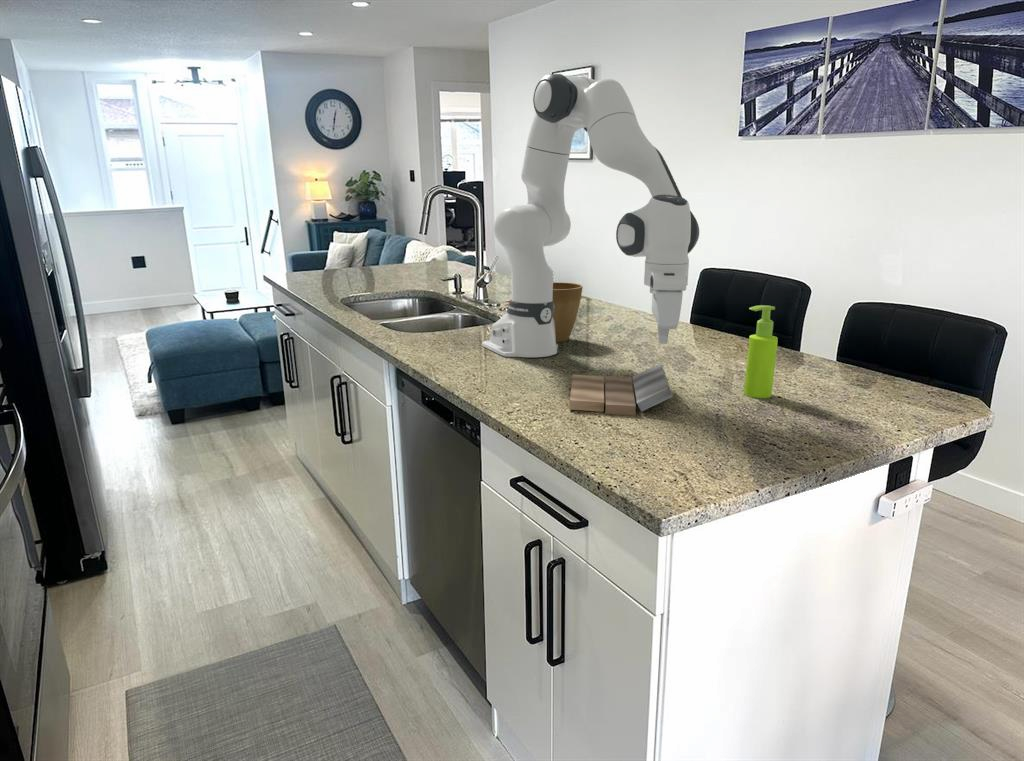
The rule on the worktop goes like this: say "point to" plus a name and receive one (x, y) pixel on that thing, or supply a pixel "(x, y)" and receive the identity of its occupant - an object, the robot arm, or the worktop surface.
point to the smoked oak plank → (587, 393)
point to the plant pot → (565, 308)
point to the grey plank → (651, 387)
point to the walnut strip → (619, 396)
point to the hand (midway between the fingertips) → (662, 342)
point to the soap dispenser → (761, 356)
